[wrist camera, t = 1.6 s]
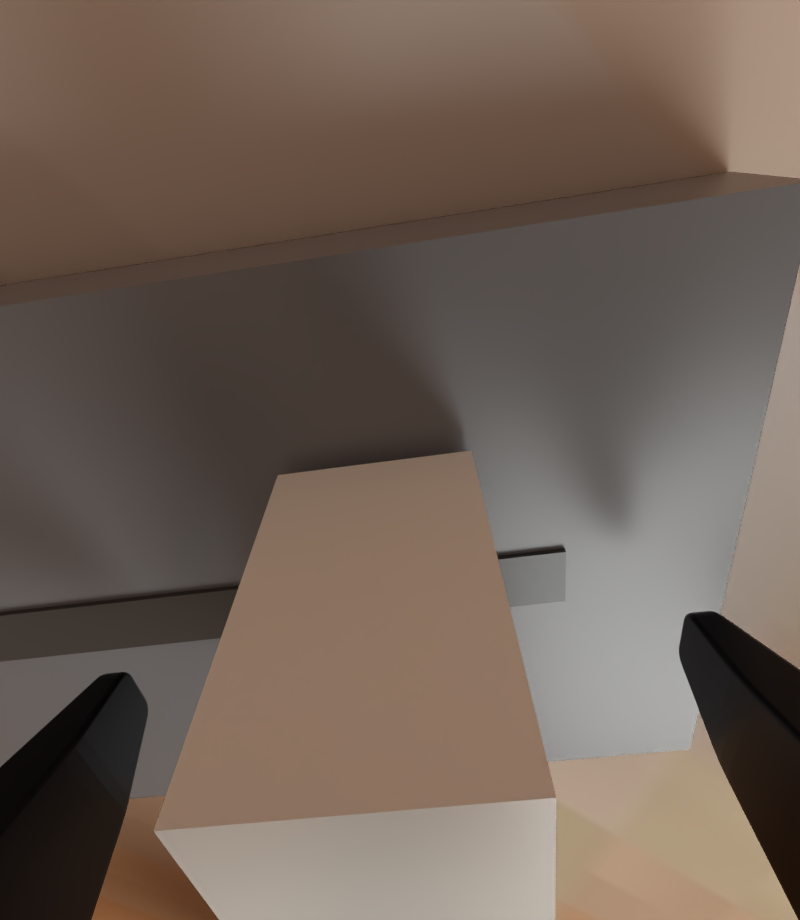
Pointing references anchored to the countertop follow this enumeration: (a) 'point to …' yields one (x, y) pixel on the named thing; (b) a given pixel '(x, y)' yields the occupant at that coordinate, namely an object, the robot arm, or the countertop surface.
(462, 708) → the fader tab
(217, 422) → the fader console
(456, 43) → the countertop surface
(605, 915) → the countertop surface
